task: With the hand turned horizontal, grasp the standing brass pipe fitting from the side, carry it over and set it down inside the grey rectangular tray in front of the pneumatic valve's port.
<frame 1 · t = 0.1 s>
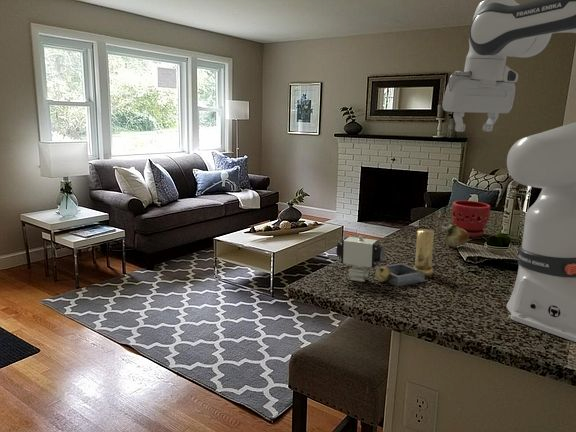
hand: (473, 131, 110), 39 cm above the kitchen counter, tool pointing down, fingers open, 8 cm apart
grey rectangular tray: (399, 278, 119), on the kitchen counter
pipe fitting: (422, 272, 123), on the kitchen counter
onion: (455, 247, 150), on the kitchen counter
pneumatic valve: (359, 280, 118), on the kitchen counter
plant pot: (468, 234, 167), on the kitchen counter
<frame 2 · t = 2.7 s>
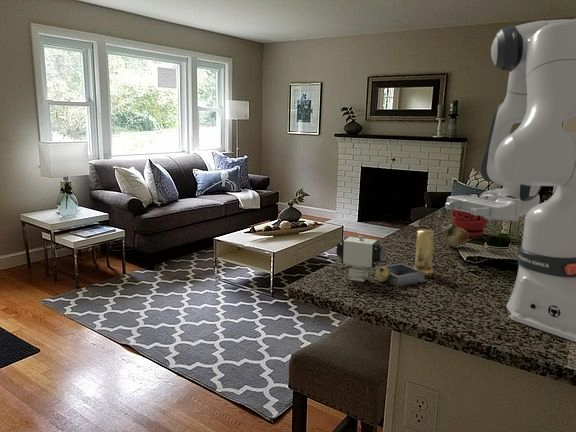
hand: (459, 209, 125), 17 cm above the kitchen counter, tool horizontal, fingers open, 8 cm apart
nothing on the kitchen counter moved.
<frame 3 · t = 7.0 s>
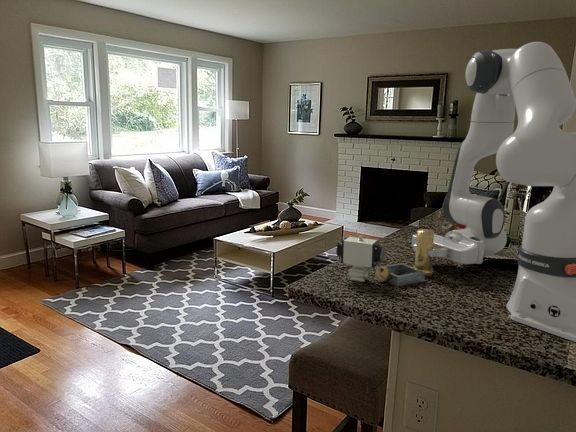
hand: (421, 250, 122), 7 cm above the kitchen counter, tool horizontal, fingers closed on pipe fitting, 4 cm apart
pipe fitting: (422, 272, 123), on the kitchen counter, touching gripper
everything else where it was.
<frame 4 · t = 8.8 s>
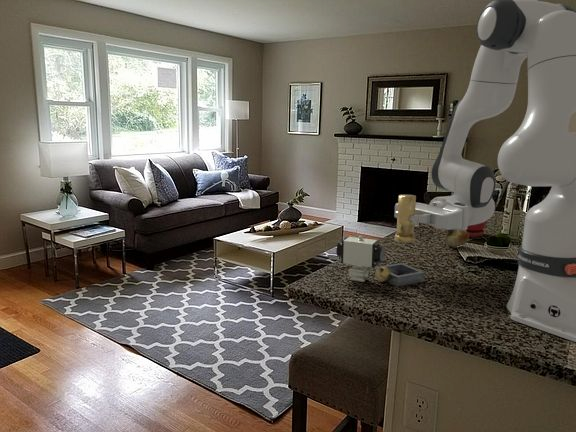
hand: (403, 216, 116), 17 cm above the kitchen counter, tool horizontal, fingers closed on pipe fitting, 4 cm apart
pipe fitting: (404, 240, 117), point 10 cm above the kitchen counter, touching gripper
everything else where it was.
when the fingers open (8 cm above the kitchen counter, at t = 11.0 s): pipe fitting drops 1 cm, resting in grey rectangular tray.
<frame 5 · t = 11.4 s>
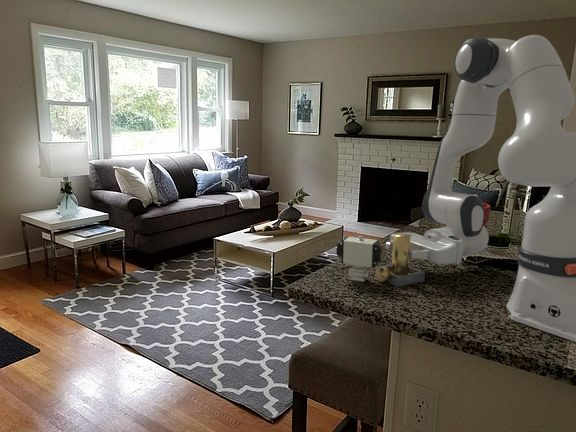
hand: (398, 250, 117), 8 cm above the kitchen counter, tool horizontal, fingers open, 8 cm apart
pipe fitting: (399, 278, 119), resting in grey rectangular tray
everything else where it was.
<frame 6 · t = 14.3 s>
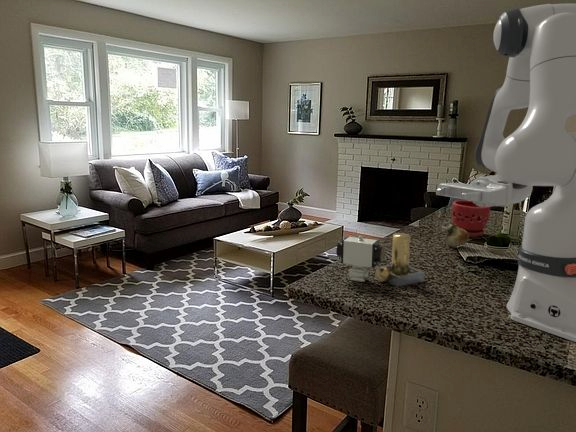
hand: (450, 194, 124), 21 cm above the kitchen counter, tool horizontal, fingers open, 8 cm apart
nothing on the kitchen counter moved.
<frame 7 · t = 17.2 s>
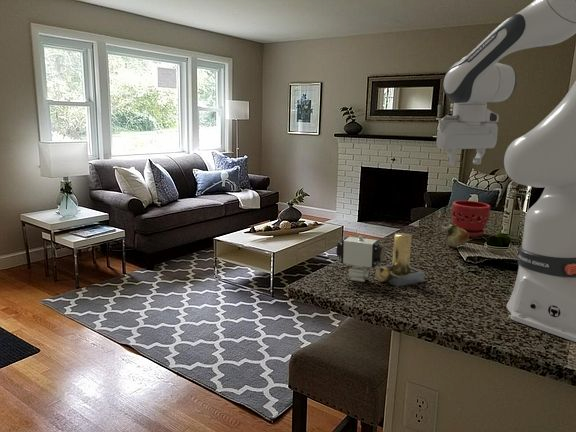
hand: (464, 164, 128), 29 cm above the kitchen counter, tool pointing down, fingers open, 8 cm apart
nothing on the kitchen counter moved.
at the end: pipe fitting 0.0 cm off-centre on the grey rectangular tray, point 0.0 cm above the grey rectangular tray's base; pipe fitting tilted 1°; pneumatic valve moved 0.2 cm from its start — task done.
